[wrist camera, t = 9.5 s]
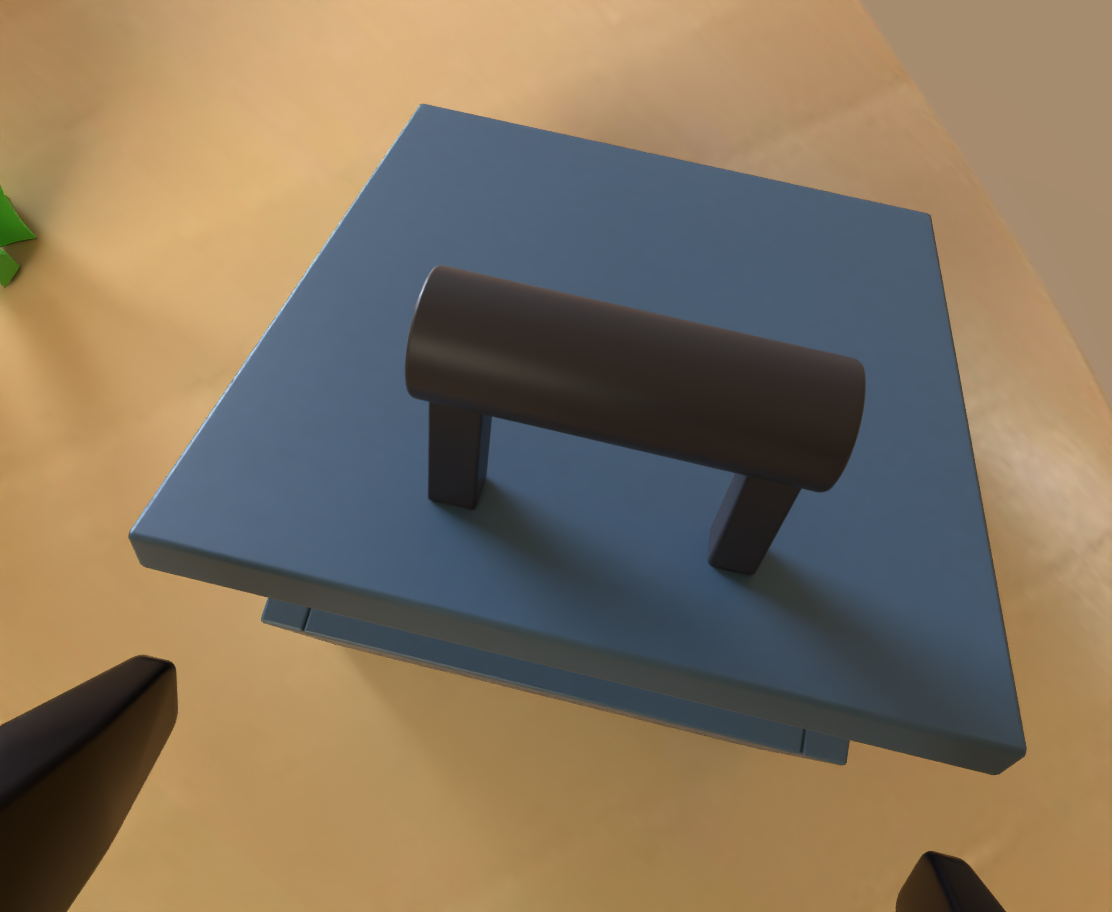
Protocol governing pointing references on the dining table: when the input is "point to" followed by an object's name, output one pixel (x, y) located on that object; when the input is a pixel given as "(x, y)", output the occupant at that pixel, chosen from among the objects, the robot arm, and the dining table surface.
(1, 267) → the beige cat figurine
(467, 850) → the dining table surface
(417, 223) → the lid
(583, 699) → the cooler
